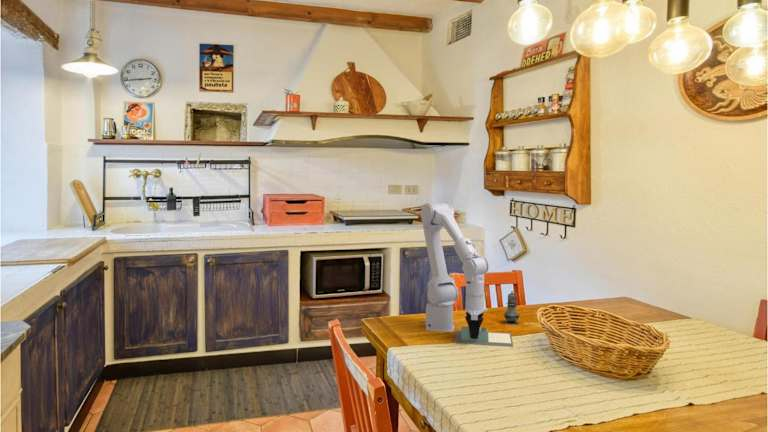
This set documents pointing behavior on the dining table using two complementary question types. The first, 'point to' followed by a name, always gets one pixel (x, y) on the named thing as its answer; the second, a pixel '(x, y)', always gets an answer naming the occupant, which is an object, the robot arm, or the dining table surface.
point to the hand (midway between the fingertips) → (474, 336)
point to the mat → (489, 339)
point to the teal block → (481, 337)
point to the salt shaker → (511, 310)
